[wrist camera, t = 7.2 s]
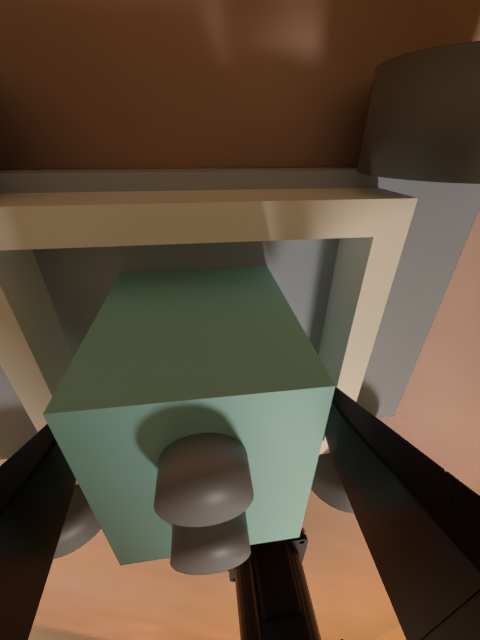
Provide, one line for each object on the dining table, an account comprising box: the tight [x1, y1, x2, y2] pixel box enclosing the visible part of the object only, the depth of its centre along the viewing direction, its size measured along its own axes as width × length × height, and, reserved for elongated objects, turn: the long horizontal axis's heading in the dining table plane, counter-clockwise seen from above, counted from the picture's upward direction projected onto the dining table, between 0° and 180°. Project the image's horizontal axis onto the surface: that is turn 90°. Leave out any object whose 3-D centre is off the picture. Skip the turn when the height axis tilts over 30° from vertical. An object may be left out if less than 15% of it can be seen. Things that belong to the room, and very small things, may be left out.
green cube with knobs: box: [43, 265, 335, 575], centre depth 9 cm, size 6×5×7 cm
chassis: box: [0, 41, 480, 559], centre depth 11 cm, size 17×20×4 cm
